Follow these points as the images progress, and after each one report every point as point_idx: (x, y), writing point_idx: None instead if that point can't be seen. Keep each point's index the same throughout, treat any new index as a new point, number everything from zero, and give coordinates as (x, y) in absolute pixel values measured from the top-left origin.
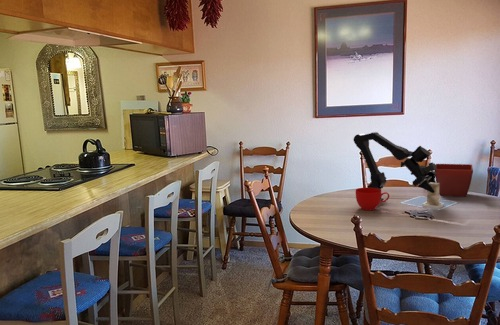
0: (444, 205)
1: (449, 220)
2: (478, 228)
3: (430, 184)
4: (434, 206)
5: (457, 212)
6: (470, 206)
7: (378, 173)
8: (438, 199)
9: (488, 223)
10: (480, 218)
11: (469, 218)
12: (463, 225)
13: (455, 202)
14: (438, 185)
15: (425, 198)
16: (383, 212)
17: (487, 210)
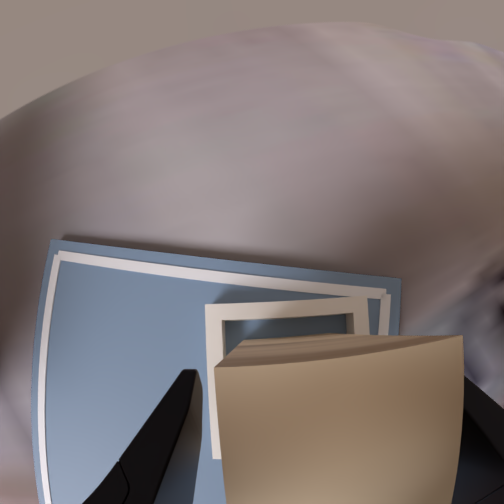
0: (195, 307)
1: (478, 170)
2: (465, 64)
3: (452, 469)
4: (367, 334)
5: (291, 177)
6: (80, 171)
7: None
8: (267, 341)
9: (379, 37)
10: (329, 61)
11: (372, 96)
12: (483, 108)
13: (59, 265)
14: (302, 356)
15: (76, 491)
16: None
17: (135, 80)
